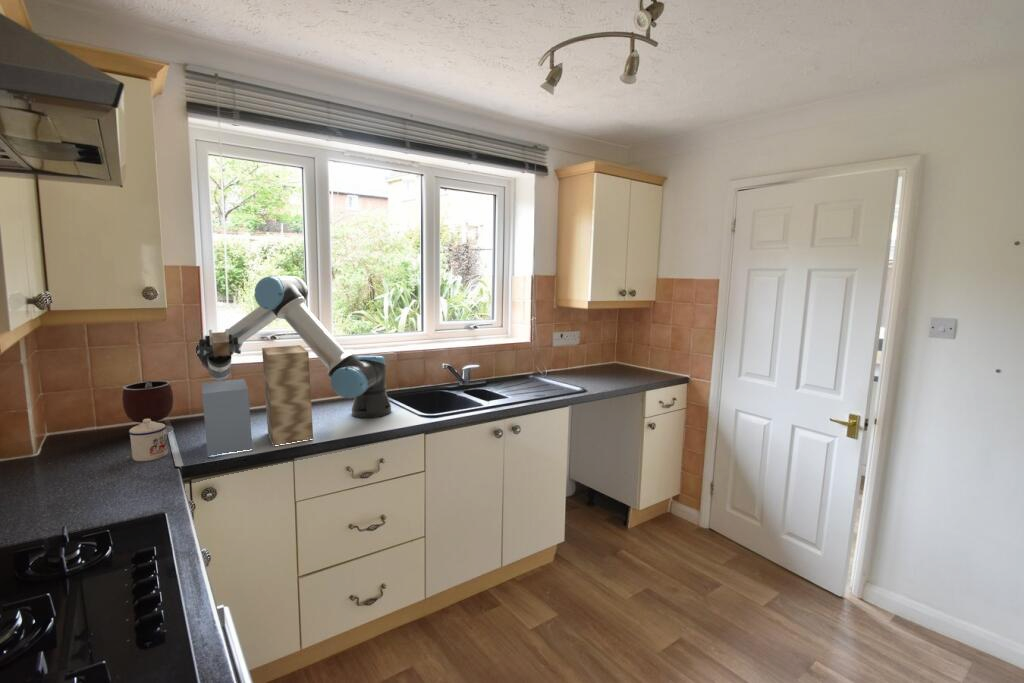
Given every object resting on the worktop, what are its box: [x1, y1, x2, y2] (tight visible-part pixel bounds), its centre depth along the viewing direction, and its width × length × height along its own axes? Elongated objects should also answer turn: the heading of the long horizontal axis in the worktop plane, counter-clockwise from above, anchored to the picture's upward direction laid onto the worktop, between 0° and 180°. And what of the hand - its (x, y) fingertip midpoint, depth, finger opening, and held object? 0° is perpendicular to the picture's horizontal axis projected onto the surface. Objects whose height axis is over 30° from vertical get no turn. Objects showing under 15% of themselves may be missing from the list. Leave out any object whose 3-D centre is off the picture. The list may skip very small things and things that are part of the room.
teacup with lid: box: [128, 419, 169, 462], centre depth 150 cm, size 12×9×12 cm
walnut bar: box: [212, 331, 230, 356], centre depth 158 cm, size 4×26×4 cm, turn 32°
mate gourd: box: [122, 380, 174, 434], centre depth 169 cm, size 16×14×20 cm
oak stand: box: [261, 345, 314, 446], centre depth 165 cm, size 12×16×30 cm
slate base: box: [201, 378, 254, 457], centre depth 157 cm, size 12×16×20 cm
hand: (218, 333), depth 162 cm, fingers closed on walnut bar, 4 cm apart
